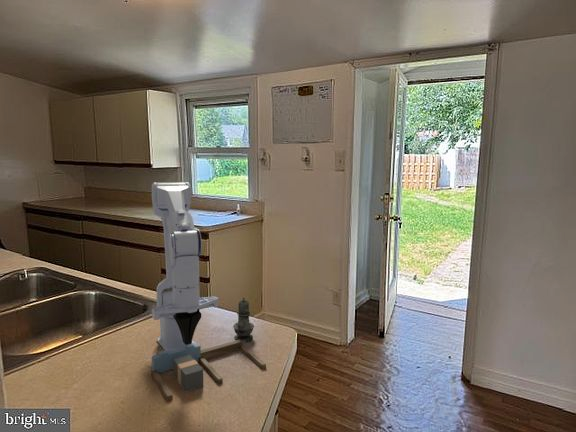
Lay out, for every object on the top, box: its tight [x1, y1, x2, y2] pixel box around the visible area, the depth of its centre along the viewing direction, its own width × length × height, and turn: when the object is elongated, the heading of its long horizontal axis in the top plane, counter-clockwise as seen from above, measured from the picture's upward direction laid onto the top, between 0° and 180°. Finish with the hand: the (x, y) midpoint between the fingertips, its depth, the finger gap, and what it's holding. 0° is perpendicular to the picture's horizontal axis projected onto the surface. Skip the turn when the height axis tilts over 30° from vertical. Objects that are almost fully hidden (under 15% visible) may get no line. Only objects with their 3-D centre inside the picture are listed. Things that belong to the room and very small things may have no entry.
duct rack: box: [151, 340, 267, 402], centre depth 93 cm, size 13×24×5 cm, turn 125°
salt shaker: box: [232, 297, 255, 343], centre depth 110 cm, size 6×6×12 cm
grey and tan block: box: [173, 355, 204, 393], centre depth 89 cm, size 8×4×4 cm, turn 35°
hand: (187, 342), depth 88 cm, fingers closed
